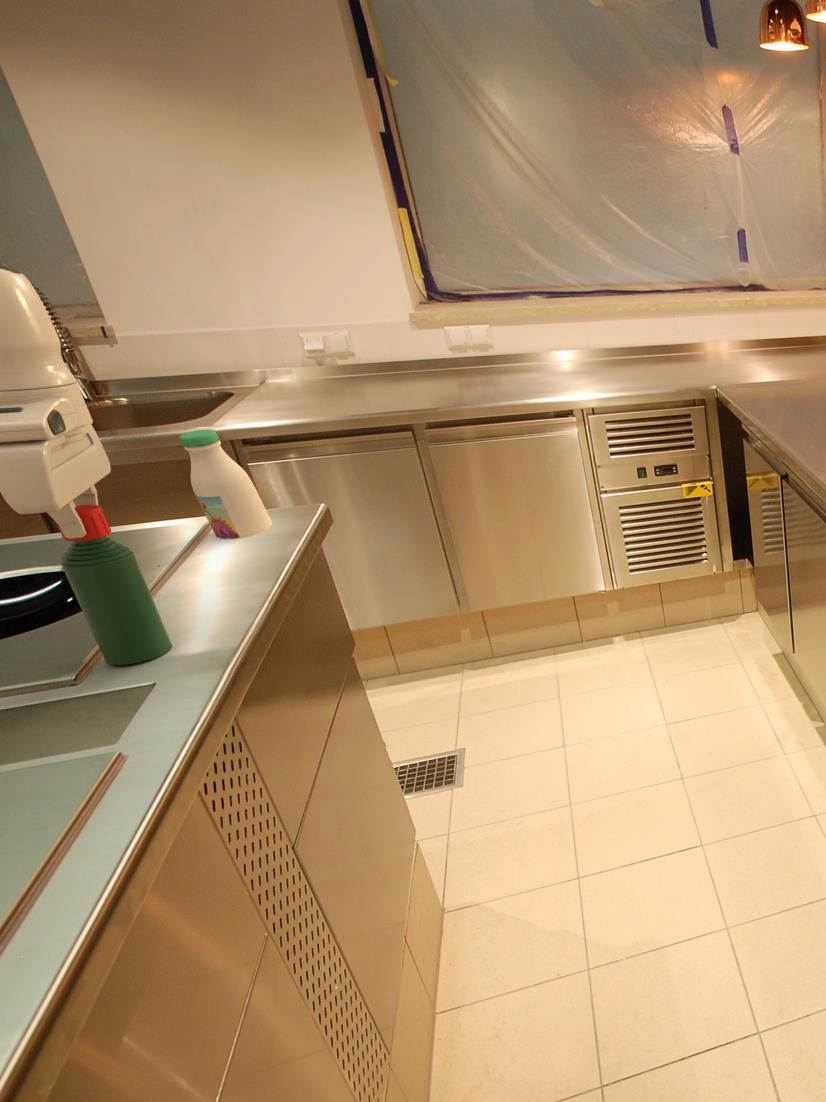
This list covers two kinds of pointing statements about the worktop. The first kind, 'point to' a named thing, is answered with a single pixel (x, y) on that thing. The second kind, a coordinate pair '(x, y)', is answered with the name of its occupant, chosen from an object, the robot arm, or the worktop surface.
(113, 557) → the bottle
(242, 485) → the milk bottle
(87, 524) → the cap
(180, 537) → the worktop surface
